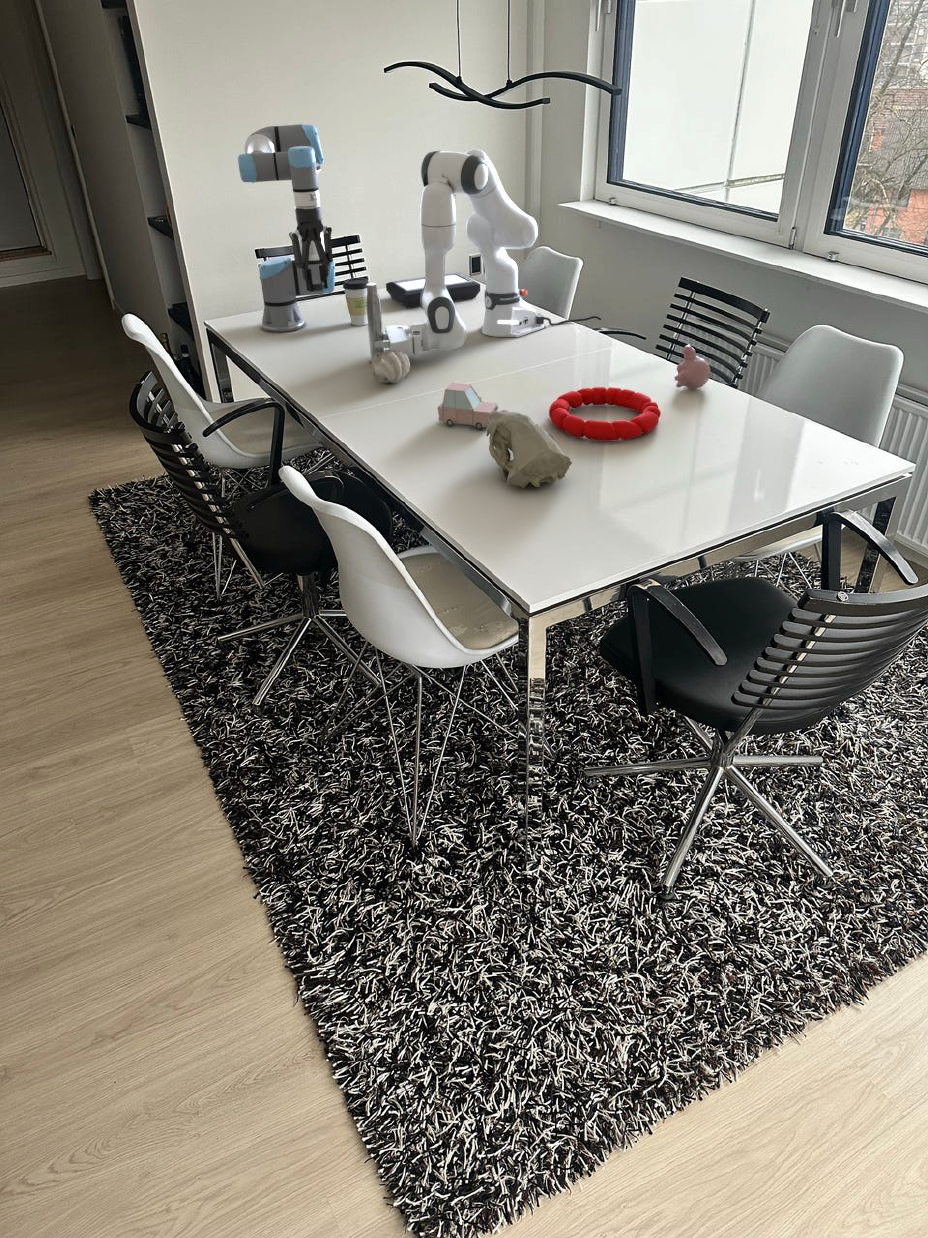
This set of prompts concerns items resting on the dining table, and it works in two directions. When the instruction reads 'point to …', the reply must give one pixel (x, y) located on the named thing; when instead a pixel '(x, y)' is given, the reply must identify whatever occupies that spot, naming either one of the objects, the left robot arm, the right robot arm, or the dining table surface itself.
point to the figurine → (692, 370)
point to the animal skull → (525, 450)
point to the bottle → (374, 319)
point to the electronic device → (412, 288)
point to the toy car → (465, 406)
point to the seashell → (390, 366)
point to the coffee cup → (356, 300)
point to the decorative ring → (604, 428)
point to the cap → (318, 285)
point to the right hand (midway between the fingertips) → (373, 341)
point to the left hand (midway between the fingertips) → (317, 289)
